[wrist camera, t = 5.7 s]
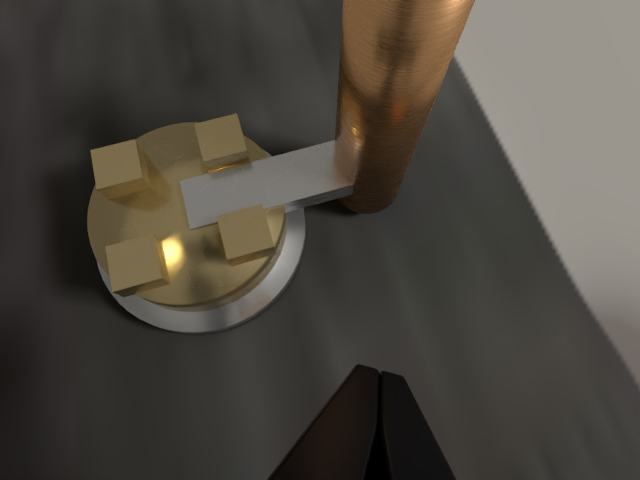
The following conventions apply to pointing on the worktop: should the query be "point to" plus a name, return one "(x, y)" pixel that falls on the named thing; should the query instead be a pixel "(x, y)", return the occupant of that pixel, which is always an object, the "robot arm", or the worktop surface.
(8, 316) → the worktop surface
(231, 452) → the worktop surface
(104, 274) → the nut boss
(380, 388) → the robot arm
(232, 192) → the bronze dome and bar
